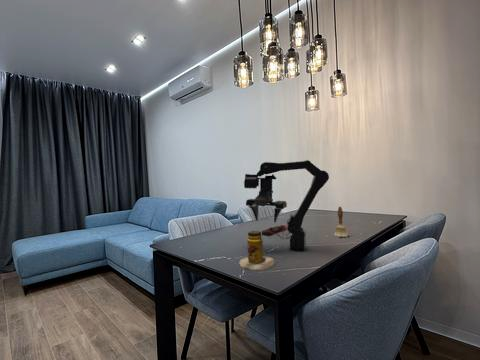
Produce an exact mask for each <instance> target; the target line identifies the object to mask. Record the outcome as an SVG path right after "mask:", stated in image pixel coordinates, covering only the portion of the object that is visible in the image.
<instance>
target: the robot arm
mask: <svg viewBox="0 0 480 360" xmlns="http://www.w3.org/2000/svg"><path fill="white" fill-rule="evenodd" d="M293 170H306V171H307V172H308V173H310V174H311V175H312V176H313V177H312V180H311V184H310V186H309V189H308V190H307V192H306V194H305V196H304V198H303V200H302V202H301V203H300V205H299V206H298V208H297V210H296V212H295V213H294V214H292V213H290V216H289V218H288V219H287V220H286V226H287V232H288V233H289V232H290V233H289V234H291V235H290V236H291V237H290V238H289V250H290V251H298V252H305V251H306V249H307V248H308V246H307V245H306V244H307V243H306V242H307V241H306V238H307V237H306V231H304V230H305V229H304V228H302V224H303V222H304V218H305V216H306V215H307V212H308V210H309V209H310V207H311V205H312V203H313V201H314V199H315V198H316V196H317V194H318V193H319V191H320V190H321V189H322V188H323V187H324V186H325V185H326V183H327V182H328V181H329V179H330V176H329V173H328V172H327V171H326V170H321V169H320V168H319V167H317V166H316V165H315V164H313V163H312V162H311V160H309V159H306V160H302V161H292V162H291V161H290V162H288V161H287V162H271V161H264V162H263V163H261V164H260V167H259V171H257V173H256V174H249V173H245V174H244V181H243V186H244V189H257V188H258V187H259V186H260V187H259V191H258V194H257V195H256V197H254V198H249V199H247V200H246V201H245V206H247V207H248V208H250V210H252V212H253V216H254V219H255V221H257V222H258V220H259V207H266V206H271V207H275V208H274V209H273V210H274V216H273V222H274V223H277V221H278V218H279V215H280V213H281V211H282V210H283V209H285V208H287V207H288V203H287V201H285V200H275V201H274V198H273V194H274V190H273V180H277V177H276V176H275V175H274V173H277V172H283V171H293ZM269 174H272V175H269ZM263 175H265V176H264V177H262V176H263Z"/></svg>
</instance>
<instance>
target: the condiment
mask: <svg viewBox="0 0 480 360" xmlns="http://www.w3.org/2000/svg"><path fill="white" fill-rule="evenodd" d="M247 235H248V236H247V242H246V243H247V257H248V260H247V263H246V264H265V260H266V257H263V256H264V250H263V249H264V247H263V246H264V245H263V244H264V241H263V238H262V231H259V230H250V231H249V232H247Z"/></svg>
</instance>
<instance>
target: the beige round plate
mask: <svg viewBox="0 0 480 360" xmlns="http://www.w3.org/2000/svg"><path fill="white" fill-rule="evenodd" d="M263 257H266V260H265V264H246V263H247V260H248V256H246V257H243V258H241V259H240V260H239V262H238V263H239V266H240V267H241V268H242V269H244V270H249V271H265V270H269V269H271V268H273V267H274V266H275V260H274V258H272V257H269V256H268V255H267V256H266V255H263Z"/></svg>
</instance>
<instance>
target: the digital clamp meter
mask: <svg viewBox="0 0 480 360" xmlns="http://www.w3.org/2000/svg"><path fill="white" fill-rule="evenodd" d="M285 231H288V229H287V225H282V224H281V225H278V226H274V227H268V228H267V229H263V230H262V231H261V236H265V237H271V236H274V235H277V236H278V238H281V239H284V238H285V240H288V239H290V238H291V235H290V236H288V235H289V234H291V233H290V232H289V231H288V233H287V234H286V237H285V234H284V232H285ZM304 232H306V230H305V229H304ZM279 233H282V235H283V237H282V236H281V235H280V234H279Z"/></svg>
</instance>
